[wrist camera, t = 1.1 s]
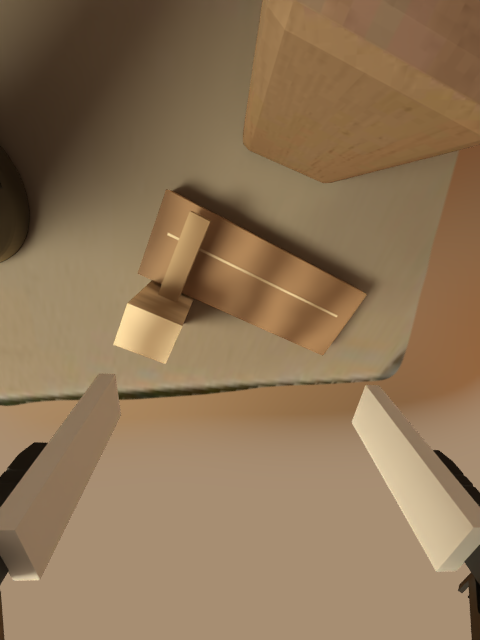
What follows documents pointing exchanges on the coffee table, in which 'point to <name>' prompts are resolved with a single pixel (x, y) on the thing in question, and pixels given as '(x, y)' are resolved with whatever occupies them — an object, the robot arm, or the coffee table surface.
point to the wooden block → (363, 84)
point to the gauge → (163, 300)
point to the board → (252, 278)
